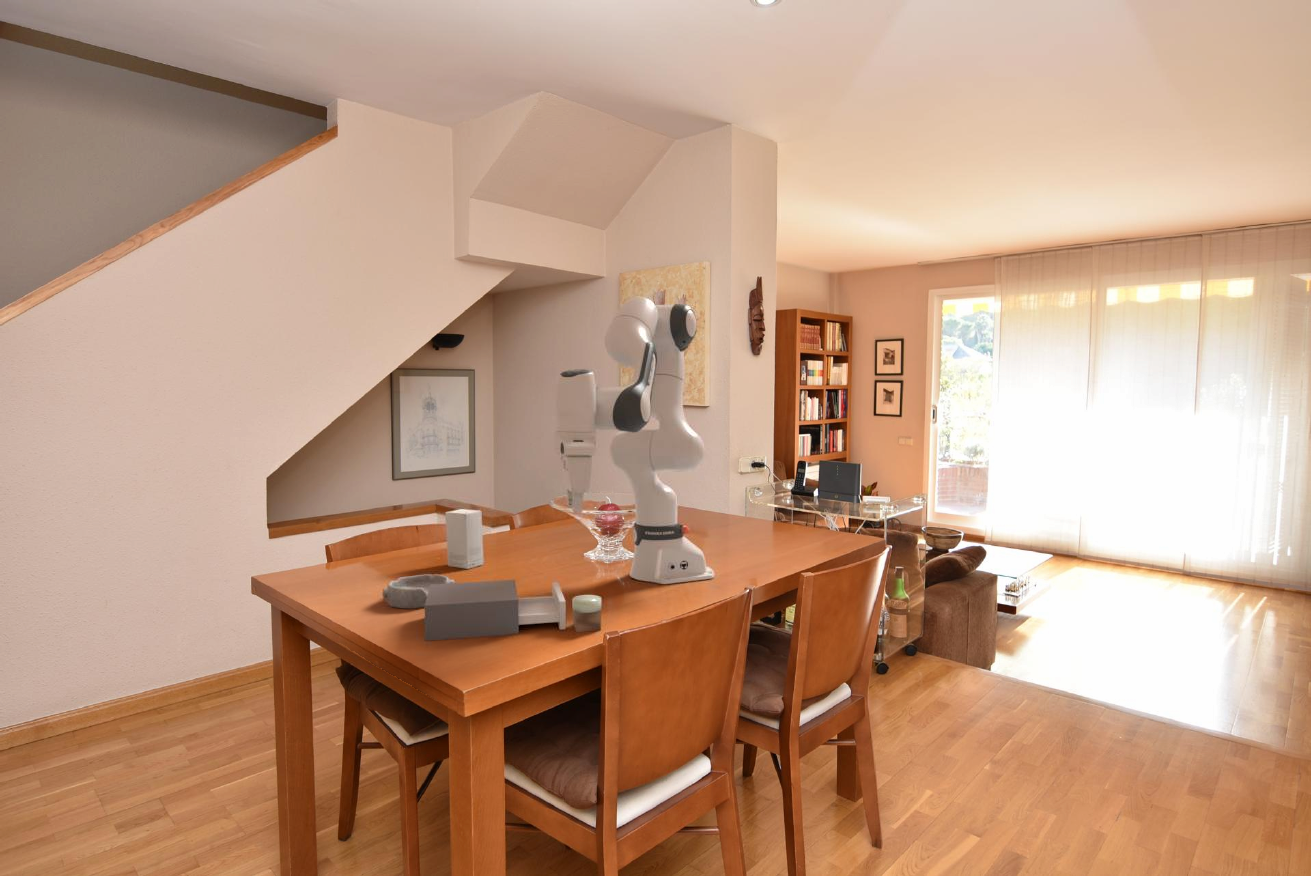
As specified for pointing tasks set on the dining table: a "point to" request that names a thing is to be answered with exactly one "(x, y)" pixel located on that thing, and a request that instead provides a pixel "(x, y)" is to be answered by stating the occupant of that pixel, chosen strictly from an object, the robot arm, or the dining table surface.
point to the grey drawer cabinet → (471, 610)
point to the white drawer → (543, 608)
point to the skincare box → (464, 538)
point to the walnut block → (587, 621)
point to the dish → (412, 590)
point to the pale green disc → (586, 603)
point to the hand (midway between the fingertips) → (574, 510)
